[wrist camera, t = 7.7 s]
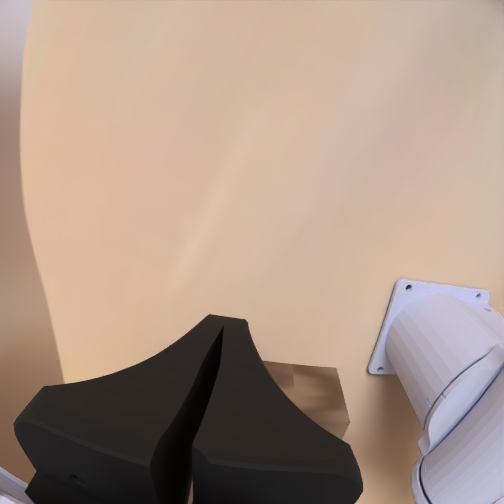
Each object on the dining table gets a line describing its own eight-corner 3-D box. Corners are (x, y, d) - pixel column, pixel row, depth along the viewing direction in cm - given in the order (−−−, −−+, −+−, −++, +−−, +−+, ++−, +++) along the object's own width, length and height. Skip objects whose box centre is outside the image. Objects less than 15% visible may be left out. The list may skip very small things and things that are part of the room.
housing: (336, 368, 22) (350, 422, 17) (283, 498, 29) (282, 536, 23) (169, 345, 23) (143, 394, 17) (177, 483, 29) (166, 520, 23)
